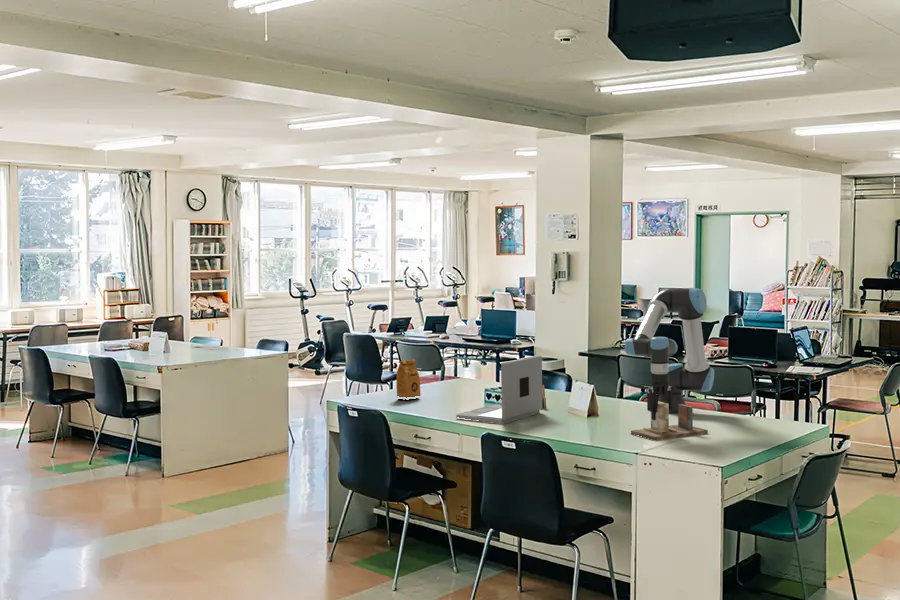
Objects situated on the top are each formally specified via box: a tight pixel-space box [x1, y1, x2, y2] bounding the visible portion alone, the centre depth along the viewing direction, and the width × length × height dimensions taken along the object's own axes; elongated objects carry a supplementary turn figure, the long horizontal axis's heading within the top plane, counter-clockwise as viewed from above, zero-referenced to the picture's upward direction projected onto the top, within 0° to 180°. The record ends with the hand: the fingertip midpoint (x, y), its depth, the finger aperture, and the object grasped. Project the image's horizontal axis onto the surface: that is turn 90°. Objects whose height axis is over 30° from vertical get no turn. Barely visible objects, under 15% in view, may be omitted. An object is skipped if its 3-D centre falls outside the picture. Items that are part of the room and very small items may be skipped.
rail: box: [630, 404, 709, 441], centre depth 389 cm, size 29×16×12 cm, turn 116°
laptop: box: [455, 355, 543, 425], centre depth 438 cm, size 36×28×29 cm
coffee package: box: [395, 359, 422, 398], centre depth 493 cm, size 10×12×22 cm
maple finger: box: [650, 401, 670, 432], centre depth 386 cm, size 4×7×12 cm, turn 26°
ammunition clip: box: [542, 384, 547, 409], centre depth 463 cm, size 11×2×12 cm, turn 44°
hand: (660, 426), depth 387 cm, fingers closed on maple finger, 4 cm apart
